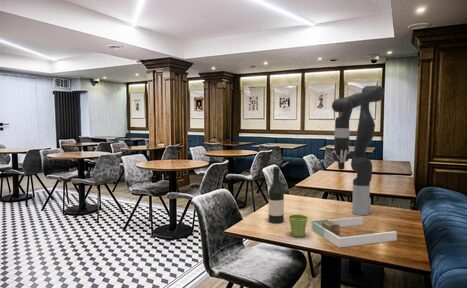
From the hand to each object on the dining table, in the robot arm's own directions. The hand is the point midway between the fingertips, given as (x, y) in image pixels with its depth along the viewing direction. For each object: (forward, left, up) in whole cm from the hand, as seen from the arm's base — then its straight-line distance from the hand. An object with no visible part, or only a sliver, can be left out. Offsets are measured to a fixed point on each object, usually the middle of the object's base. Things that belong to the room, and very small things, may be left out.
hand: (341, 169), depth 168 cm
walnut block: (+13, +12, -29) cm, 34 cm away
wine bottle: (+32, -12, -29) cm, 45 cm away
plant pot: (+30, +10, -29) cm, 43 cm away
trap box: (+5, +17, -29) cm, 34 cm away
